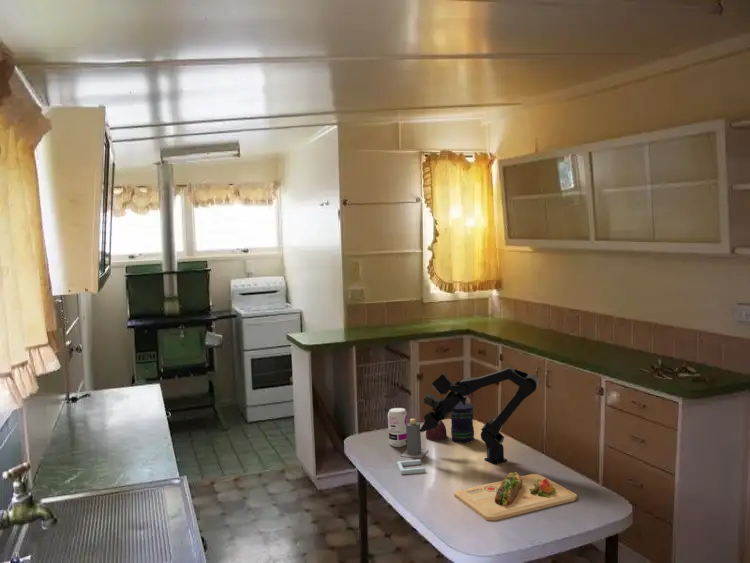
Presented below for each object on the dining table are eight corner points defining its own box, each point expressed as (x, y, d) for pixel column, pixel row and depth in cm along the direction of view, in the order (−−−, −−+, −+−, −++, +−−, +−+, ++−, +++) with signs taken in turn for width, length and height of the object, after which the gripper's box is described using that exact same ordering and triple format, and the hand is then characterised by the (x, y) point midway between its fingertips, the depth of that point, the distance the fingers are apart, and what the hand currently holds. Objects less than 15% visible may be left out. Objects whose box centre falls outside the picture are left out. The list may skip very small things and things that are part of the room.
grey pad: (428, 450, 270) (428, 450, 270) (421, 458, 261) (421, 457, 261) (407, 449, 273) (407, 448, 273) (400, 456, 265) (400, 455, 265)
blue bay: (420, 463, 256) (420, 459, 256) (425, 472, 246) (425, 468, 246) (397, 465, 255) (397, 461, 255) (401, 474, 245) (401, 470, 245)
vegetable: (447, 446, 283) (450, 418, 278) (425, 444, 283) (428, 417, 278) (445, 434, 292) (448, 407, 287) (424, 432, 292) (427, 405, 287)
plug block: (421, 451, 268) (419, 418, 267) (418, 455, 264) (416, 421, 263) (411, 450, 270) (409, 417, 269) (407, 454, 266) (405, 420, 265)
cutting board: (537, 477, 237) (536, 457, 237) (580, 501, 215) (579, 478, 215) (452, 496, 224) (451, 475, 224) (488, 523, 203) (487, 500, 202)
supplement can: (408, 440, 283) (407, 407, 282) (407, 447, 275) (406, 412, 274) (390, 441, 284) (388, 407, 283) (388, 447, 276) (386, 412, 275)
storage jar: (464, 445, 274) (462, 410, 273) (446, 440, 282) (445, 406, 280) (479, 438, 281) (477, 404, 280) (461, 434, 288) (460, 401, 287)
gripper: (441, 382, 270) (417, 406, 275) (428, 393, 252) (402, 419, 258) (460, 402, 267) (436, 426, 272) (448, 415, 250) (422, 440, 255)
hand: (424, 427), depth 264 cm, fingers open, 9 cm apart
